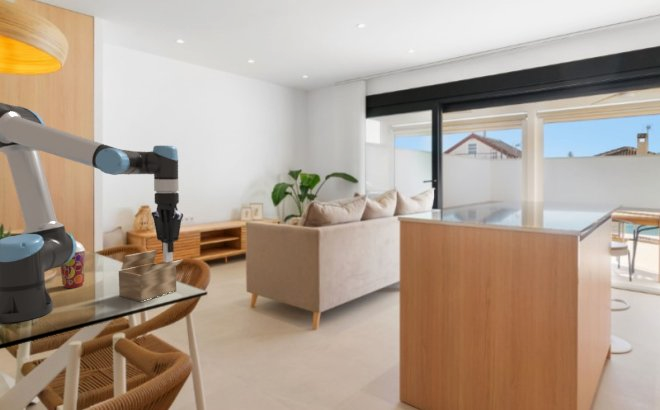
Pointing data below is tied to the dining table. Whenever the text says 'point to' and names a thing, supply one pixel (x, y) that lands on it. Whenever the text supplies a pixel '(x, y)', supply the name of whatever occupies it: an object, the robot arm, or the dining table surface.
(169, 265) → the near flap
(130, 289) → the carton
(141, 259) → the far flap
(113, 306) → the dining table surface
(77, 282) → the smoothie
